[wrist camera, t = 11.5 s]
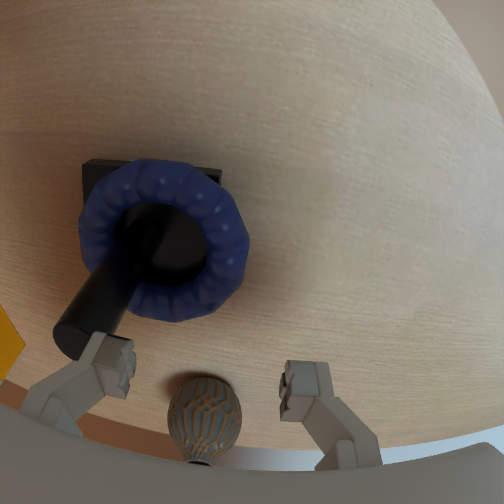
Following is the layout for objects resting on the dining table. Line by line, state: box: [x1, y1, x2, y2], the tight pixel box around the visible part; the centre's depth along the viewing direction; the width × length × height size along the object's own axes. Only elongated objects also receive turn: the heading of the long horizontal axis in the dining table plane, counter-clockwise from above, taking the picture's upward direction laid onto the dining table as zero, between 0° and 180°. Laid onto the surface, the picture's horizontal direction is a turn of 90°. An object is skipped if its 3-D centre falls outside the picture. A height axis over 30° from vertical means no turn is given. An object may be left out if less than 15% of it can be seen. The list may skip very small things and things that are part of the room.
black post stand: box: [53, 159, 222, 361], centre depth 16 cm, size 9×9×12 cm
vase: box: [167, 377, 242, 466], centre depth 25 cm, size 7×7×9 cm
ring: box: [78, 158, 250, 323], centre depth 19 cm, size 11×11×2 cm
